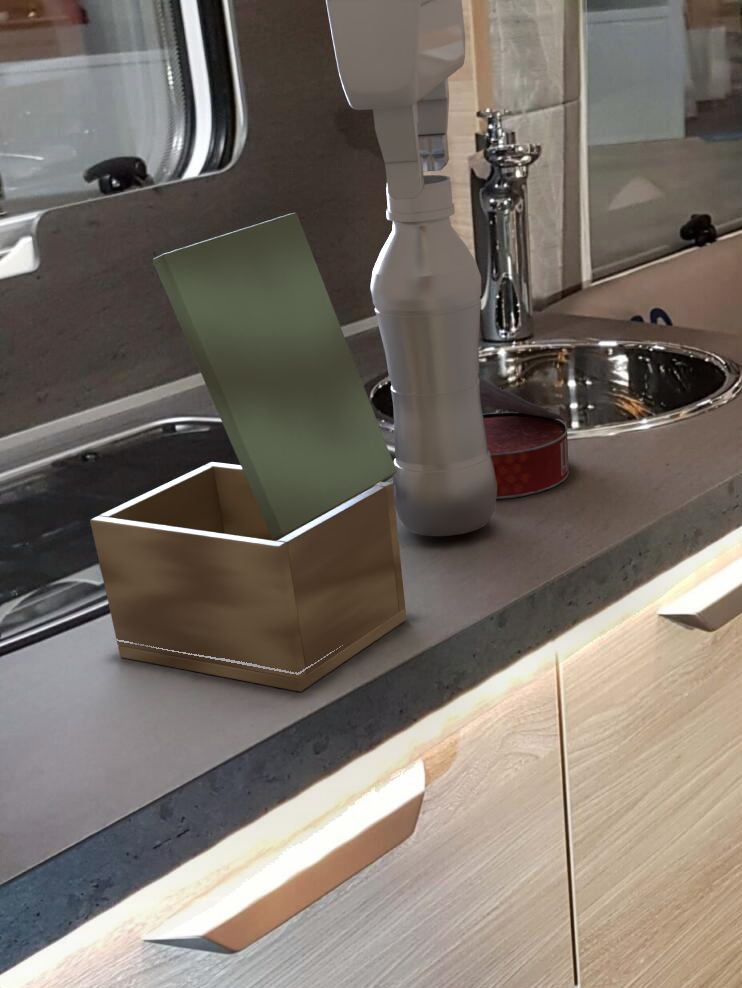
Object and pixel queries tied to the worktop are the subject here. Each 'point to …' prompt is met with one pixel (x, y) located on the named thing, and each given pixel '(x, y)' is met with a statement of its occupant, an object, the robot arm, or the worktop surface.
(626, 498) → the worktop surface
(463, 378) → the plastic bottle
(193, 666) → the chest
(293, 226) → the lid
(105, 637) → the worktop surface
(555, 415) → the canned food
